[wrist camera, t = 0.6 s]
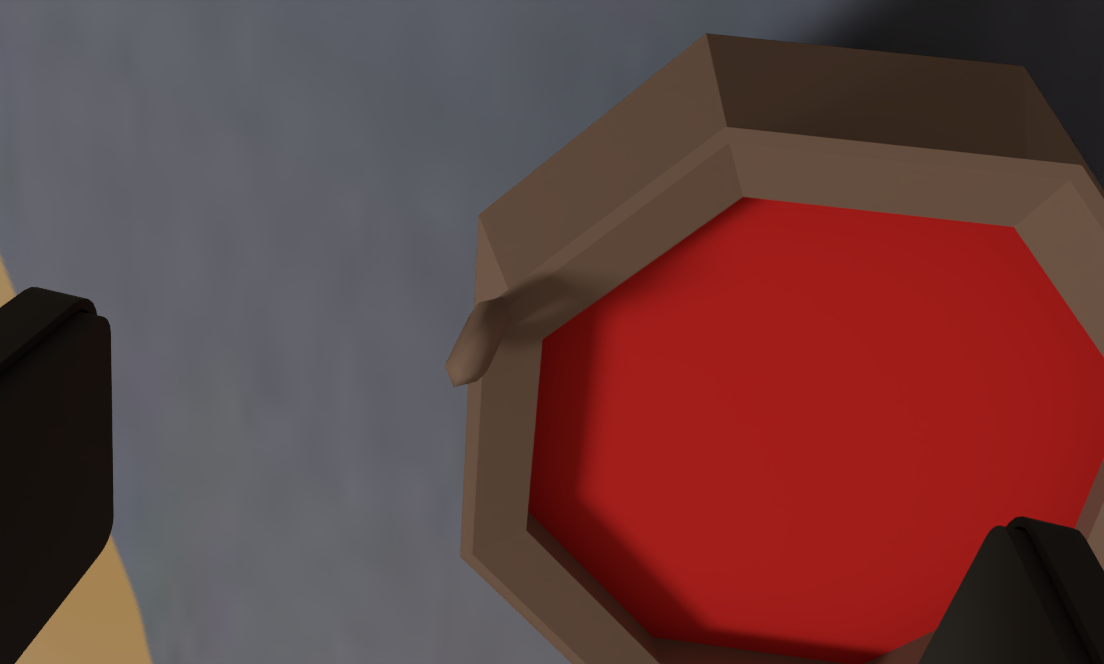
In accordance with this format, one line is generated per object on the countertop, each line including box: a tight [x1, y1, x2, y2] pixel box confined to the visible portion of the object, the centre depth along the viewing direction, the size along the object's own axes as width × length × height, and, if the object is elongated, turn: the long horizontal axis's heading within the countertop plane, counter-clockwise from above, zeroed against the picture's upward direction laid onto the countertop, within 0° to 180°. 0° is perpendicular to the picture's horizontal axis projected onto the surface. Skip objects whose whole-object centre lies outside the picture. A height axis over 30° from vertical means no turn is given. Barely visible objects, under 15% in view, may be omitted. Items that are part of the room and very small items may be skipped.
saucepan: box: [445, 34, 1104, 664], centre depth 33 cm, size 24×24×16 cm
